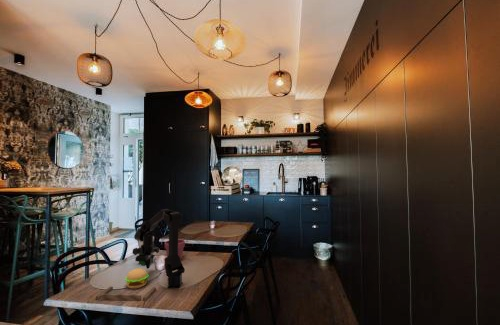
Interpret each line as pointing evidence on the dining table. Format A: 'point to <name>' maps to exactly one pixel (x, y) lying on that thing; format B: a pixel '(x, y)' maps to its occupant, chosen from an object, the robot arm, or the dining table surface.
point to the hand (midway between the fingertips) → (148, 268)
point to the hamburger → (136, 278)
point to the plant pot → (180, 247)
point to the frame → (123, 295)
